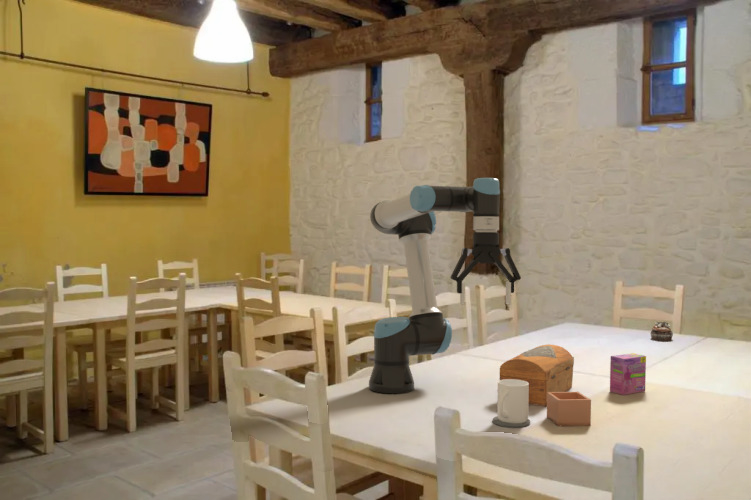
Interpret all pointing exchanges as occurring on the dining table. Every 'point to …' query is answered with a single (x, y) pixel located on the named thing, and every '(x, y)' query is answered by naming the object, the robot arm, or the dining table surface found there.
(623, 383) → the box
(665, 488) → the dining table surface
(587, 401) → the planter
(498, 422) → the slate coaster
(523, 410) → the mug
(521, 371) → the wooden box
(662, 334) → the cupcake
